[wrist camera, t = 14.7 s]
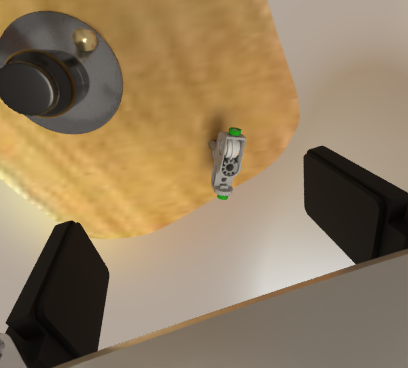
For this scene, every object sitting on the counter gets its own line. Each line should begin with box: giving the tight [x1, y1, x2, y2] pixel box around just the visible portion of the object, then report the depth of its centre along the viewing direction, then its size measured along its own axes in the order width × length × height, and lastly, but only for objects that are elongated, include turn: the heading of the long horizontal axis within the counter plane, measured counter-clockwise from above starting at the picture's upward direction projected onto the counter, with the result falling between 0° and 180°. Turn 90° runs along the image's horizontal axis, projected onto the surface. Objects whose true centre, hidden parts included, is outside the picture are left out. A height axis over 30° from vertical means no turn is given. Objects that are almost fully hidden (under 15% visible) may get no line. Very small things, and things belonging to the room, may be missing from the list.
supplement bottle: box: [0, 49, 90, 118], centre depth 28 cm, size 7×7×12 cm
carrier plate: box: [0, 11, 123, 134], centre depth 32 cm, size 15×15×4 cm
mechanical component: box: [209, 127, 246, 200], centre depth 38 cm, size 3×10×10 cm, turn 173°
